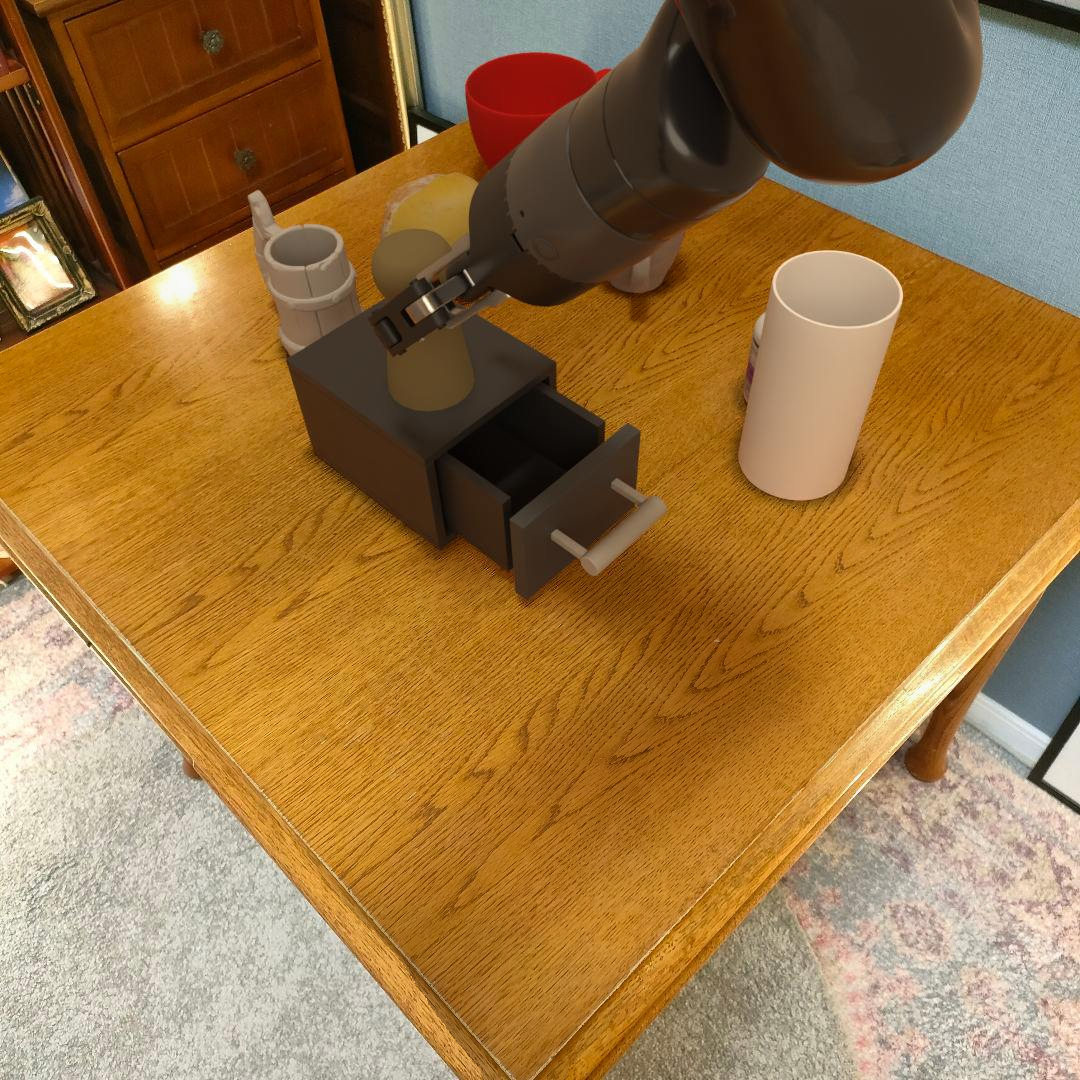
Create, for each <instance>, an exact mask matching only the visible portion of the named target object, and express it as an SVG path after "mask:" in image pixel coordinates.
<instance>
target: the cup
mask: <svg viewBox="0 0 1080 1080" xmlns="http://www.w3.org/2000/svg"><path fill="white" fill-rule="evenodd" d="M903 291H904V290H903V288H902V285H901V283H900V281H899V280H898V278H897V277H896V276H895V275H894V274H893V272H891V271H890V270H889V269H888V268H887V267H886V266H884V265H882V264H881V263H879V262H878V261H875V260H873V259H871V258H869V257H866V256H863V255H860V254H857V253H853V252H849V251H842V250H828V249H827V250H825V249H824V250H814V251H807V252H804V253H800V254H797V255H795V256H793V257H790V258H788V259H787V260H785V261H784V262H783V263H782V264H781V265H779V267H778V268H777V269H776V271H775V273H774V275H773V277H772V281H771V283H770V288H769V293H768V300H767V303H768V304H767V303H766V307H767V309H766V308H765V312H766V314H765V319H764V324H763V329H762V334H761V339H760V344H759V349H758V355H757V360H756V365H755V370H754V375H753V380H752V385H751V390H750V395H749V401H748V403H747V405H746V406H747V407H746V411H745V415H744V421H743V427H742V432H741V436H740V442H739V447H738V453H737V458H738V459H737V460H738V465H739V467H740V470H741V472H742V473H743V475H744V476H745V477H746V479H747V480H748V481H749V482H750V483H751V484H752V485H754V486H755V487H756V488H757V489H758V490H760V491H762V492H764V493H766V494H768V495H771V496H773V497H776V498H779V499H783V500H789V501H811V500H816V499H820V498H823V497H825V496H828V495H829V494H831V493H833V492H834V491H836V490H837V489H838V488H839V487H840V486H841V485H842V483H843V482H844V480H845V478H846V476H847V472H848V469H849V466H850V463H851V460H852V457H853V454H854V451H855V448H856V445H857V442H858V439H859V436H860V432H861V430H862V427H863V423H864V421H865V417H866V415H867V411H868V409H869V405H870V404H871V403H870V402H871V400H872V397H873V393H874V390H875V387H876V384H877V382H878V379H879V375H880V372H881V370H882V367H883V363H884V361H885V357H886V355H887V351H888V349H889V345H890V342H891V339H892V336H893V333H894V331H895V330H894V329H895V327H896V323H897V321H898V318H899V315H900V312H901V309H902V306H903V301H904V300H903V299H904V292H903Z"/></svg>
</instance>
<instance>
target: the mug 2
mask: <svg viewBox="0 0 1080 1080" xmlns="http://www.w3.org/2000/svg"><path fill="white" fill-rule="evenodd" d="M686 232H687V230H685V231H683V232H682V233H680V234H678V235H676V236H675V237H673V238H671V239H670V240H669V241H668V242H666V243H665V244H664V245H663V246H662V247H661V248H660V249H658V250H657V251H656V252H654V253H653V254H652V255H650V256H649V257H648V258H646V259H644V260H643V261H641V262H640V263H638V264H636V265H634V266H632V267H630V268H629V269H627V270H625V271H623V272H621V273H619V274H618V275H616V276H614V277H612V278H611V279H609V280H608V283H610V284H611V286H613V287H614V288H615V289H616V290H617V289H618V290H620V291H622V292H626V293H634V294H644V293H647V292H650V291H653V290H655V289H656V288H658V287H660V285H661V284H662V283H663V282H664V280H665V277H666V275H667V273H668V271H669V270H670V268H671V267H672V265H673V263H674V262H675V260H676V258H677V256H678V254H679V252H680V250H681V246H682V245H683V241H684V238H685V235H686Z"/></svg>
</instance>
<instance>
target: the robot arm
mask: <svg viewBox="0 0 1080 1080" xmlns="http://www.w3.org/2000/svg"><path fill="white" fill-rule="evenodd" d="M983 65H984V49H983V37H982V26H981V16H980V10H979V0H664V1H663V3H661V6H660V8H659V9H658V11H657V13H656V15H655V16H654V19H653V21H652V23H651V25H650V27H649V29H648V30H647V32H646V34H645V36H644V38H643V40H642V42H641V43H640V44H639V45H638V46H637V48H635V49H634V50H632V52H630V53H629V54H628V55H626V56H625V57H624V58H622V60H621V61H619V62H618V64H616V65H615V66H614V67H613V68H611V69H612V70H611V71H610V72H609V73H607V74H606V75H605V76H604V77H603V78H602V79H601V80H600V81H598V82H597V83H596V84H595V85H594V86H593V87H592V88H591V89H590V90H589V91H587V92H586V93H585V94H583V95H582V96H580V97H578V98H577V99H575V100H573V101H571V102H569V103H568V104H566V105H565V106H563V107H562V108H560V109H559V110H557V111H556V112H555V113H554V114H552V115H551V116H550V117H549V118H548V119H547V120H545V121H544V122H543V123H542V124H541V125H540V126H539V127H538V128H537V129H535V130H534V131H533V132H532V133H531V134H530V135H529V136H528V137H527V138H525V139H524V140H523V141H522V142H521V143H520V144H519V145H518V146H517V147H515V148H514V149H513V150H512V151H511V152H510V153H509V154H508V155H507V156H505V157H504V158H503V159H502V160H501V161H500V162H499V163H498V164H497V165H495V166H494V167H493V168H492V169H491V170H489V171H488V172H487V173H486V174H484V175H483V177H482V179H480V181H479V182H478V183H479V184H478V185H477V187H476V189H475V191H474V194H473V196H472V200H471V204H470V208H469V232H468V233H467V234H465V235H464V236H463V237H461V238H460V239H458V240H457V241H456V242H455V243H454V244H453V247H452V250H451V251H450V252H448V253H447V254H446V255H444V256H443V257H441V258H440V259H438V260H437V261H436V262H434V263H433V264H431V265H430V266H428V267H427V268H425V269H424V270H423V271H421V272H420V273H418V274H417V276H416V279H414V280H413V281H411V282H410V283H409V285H410V286H409V287H408V288H406V289H405V290H404V291H402V292H401V293H400V294H399V295H397V296H396V297H395V298H393V299H392V300H391V301H390V302H388V303H387V304H386V305H384V306H383V307H382V308H381V309H379V308H378V309H376V310H375V311H373V312H372V313H371V314H372V316H370V317H369V318H368V319H367V320H368V321H369V323H370V324H371V326H373V327H374V332H375V333H376V335H377V336H378V338H379V339H380V341H381V342H382V344H383V345H384V347H385V348H386V350H388V351H389V353H390V354H391V356H392V357H394V356H396V355H397V354H399V356H401V355H402V354H404V353H405V352H407V350H406V348H408V347H409V346H411V345H412V344H414V343H415V342H417V341H419V343H420V342H422V341H423V340H425V339H426V338H427V337H426V335H428V334H429V333H431V332H432V331H434V330H435V329H437V328H438V330H441V329H442V328H444V327H445V328H446V329H453V328H455V327H457V326H458V325H460V324H461V323H463V322H464V321H466V320H467V319H469V318H470V317H472V316H473V315H475V314H477V315H478V313H480V312H482V311H483V310H485V309H486V308H488V307H489V308H497V307H498V306H499V305H501V304H502V303H504V302H505V301H508V299H510V298H513V299H515V300H517V301H518V302H521V303H523V304H526V305H530V306H535V307H540V308H541V307H542V308H543V307H544V308H547V307H548V308H549V307H557V306H561V305H564V304H567V303H569V302H571V301H573V300H575V299H577V298H578V297H580V296H582V295H584V294H585V293H587V292H589V291H591V290H593V289H595V288H596V287H598V286H599V285H601V284H603V283H606V282H608V281H609V279H611V278H612V277H614V276H616V275H618V274H619V273H621V272H623V271H625V270H627V269H629V268H630V267H632V266H634V265H636V264H638V263H640V262H641V261H643V260H644V259H646V258H648V257H649V256H650V255H652V254H653V253H654V252H656V251H657V250H658V249H660V248H661V247H662V246H663V245H664V244H665V243H666V242H668V241H669V240H670V239H671V238H673V237H675V236H676V235H678V234H680V233H682V232H683V231H685V230H686V231H687V230H689V229H690V228H693V227H695V226H697V224H699V223H701V222H703V221H704V220H707V219H709V218H710V217H712V216H714V215H715V214H717V213H719V212H721V211H722V210H724V209H726V208H727V207H729V206H731V205H733V204H734V203H736V202H737V201H739V200H740V199H742V198H743V197H745V196H746V195H747V194H748V193H750V192H751V191H752V190H753V189H754V188H755V186H757V184H759V182H760V181H761V180H762V178H764V176H765V174H766V173H767V170H768V168H769V166H770V164H771V163H772V164H774V165H775V166H777V167H778V168H780V169H782V170H783V171H785V172H786V173H789V174H790V175H793V176H795V177H797V178H800V179H802V180H806V181H808V182H813V183H817V184H822V185H827V186H836V187H857V186H858V187H859V186H867V185H872V184H876V183H877V184H878V183H880V182H884V181H889V180H891V179H893V178H896V177H899V176H901V175H904V174H906V173H908V172H910V171H912V170H913V169H916V168H917V167H920V166H921V165H922V164H924V163H925V162H927V161H928V160H929V159H931V158H932V157H933V156H934V155H936V154H937V153H938V152H939V151H940V150H941V149H942V148H943V147H945V145H946V144H947V143H948V142H949V141H950V140H951V139H952V138H953V137H954V135H955V134H956V133H957V132H958V131H959V129H960V128H961V126H962V125H963V123H964V122H965V121H966V119H967V117H968V116H969V114H970V113H971V112H970V111H971V109H972V107H973V105H974V103H975V101H976V98H977V96H978V92H979V89H980V85H981V81H982V76H983ZM447 266H448V267H447ZM446 267H447V269H446V279H447V281H446V282H445V283H443V284H441V282H440V280H439V274H440V272H441V271H442V270H443V269H445V268H446ZM487 293H488V294H487ZM456 298H458V299H459V300H460V301H461V302H463V303H465V304H470V303H473V304H471V305H470V306H468V307H465V308H466V309H459V308H457V307H456V306H455V304H454V302H453V301H452V300H453V299H454V300H455V299H456ZM374 325H375V326H374Z"/></svg>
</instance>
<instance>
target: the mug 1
mask: <svg viewBox="0 0 1080 1080" xmlns="http://www.w3.org/2000/svg"><path fill="white" fill-rule="evenodd" d="M247 199H248V203H249V205H250V209H251V215H252V217H251V219H252V232H253V234H252V235H253V241H254V242H253V243H254V247H255V249H254V256H255V259H256V262H257V266H258V268H259V271H260V273H261V276H262V278H263V281H264V284H265V286H266V288H267V291H268V292H269V294H270V296H271V298H272V299H273V300H274V303H275V306H276V310H277V314H278V317H279V321H280V322H279V326H278V328H277V334H278V336H279V339H280V341H281V345H282V346H283V347H284V349H285V350H286V351H287V353H288V355H289V357H291V356H292V355H294V354H295V353H297V352H299V351H300V350H302V349H304V348H305V347H307V346H308V345H310V344H312V343H313V342H315V341H317V340H318V339H320V338H321V337H323V336H325V335H326V334H328V333H329V332H331V331H333V330H334V329H336V328H338V327H339V326H341V325H342V324H344V323H346V322H347V321H349V320H351V319H352V318H354V317H355V316H357V315H359V314H360V313H362V312H364V311H365V309H364V308H363V306H361V303H360V299H359V296H358V295H359V294H358V292H357V288H356V283H357V280H358V274H357V271H356V270H355V269H356V268H354V265H353V264H352V262H351V261H350V260H349V256H348V252H347V249H346V246H345V242H344V239H343V236H342V234H340V233H339V232H338V231H337V230H336V229H335V228H333V227H330V226H327V225H323V224H317V223H304V224H303V226H302V225H301V224H295V225H291V226H289V227H286V228H282V227H281V226H279V225H278V224H277V222H276V220H275V217H274V215H273V212H272V210H271V207H270V204H269V202H268V201H267V198H266V197H265V195H264V194H263V193H262V191H260V190H259V189H257V190H255V191H253V192H251V193H250V194H248V195H247Z"/></svg>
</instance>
